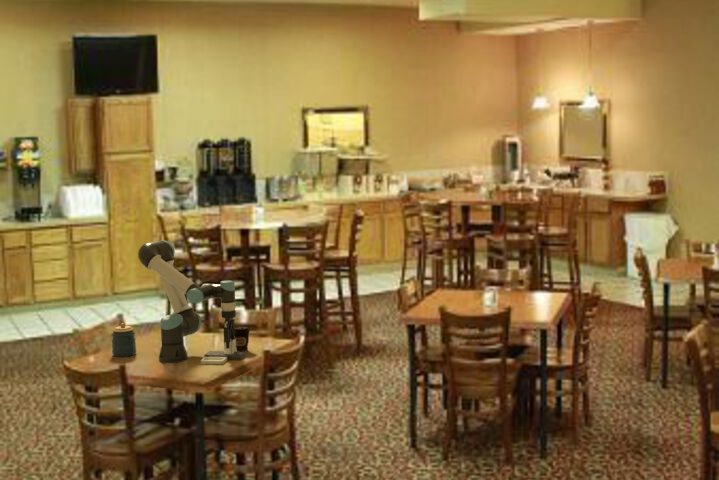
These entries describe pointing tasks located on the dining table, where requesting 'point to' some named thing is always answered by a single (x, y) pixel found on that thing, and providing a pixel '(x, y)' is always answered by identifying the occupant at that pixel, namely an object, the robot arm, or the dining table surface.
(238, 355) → the grey flat slab
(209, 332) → the dining table surface
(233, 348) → the nut block
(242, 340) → the coffee cup
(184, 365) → the dining table surface
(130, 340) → the canister
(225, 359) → the parts tray
